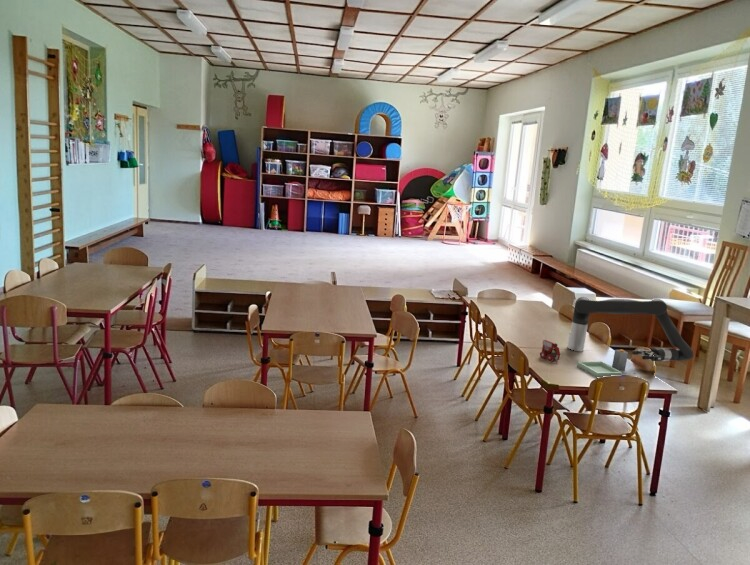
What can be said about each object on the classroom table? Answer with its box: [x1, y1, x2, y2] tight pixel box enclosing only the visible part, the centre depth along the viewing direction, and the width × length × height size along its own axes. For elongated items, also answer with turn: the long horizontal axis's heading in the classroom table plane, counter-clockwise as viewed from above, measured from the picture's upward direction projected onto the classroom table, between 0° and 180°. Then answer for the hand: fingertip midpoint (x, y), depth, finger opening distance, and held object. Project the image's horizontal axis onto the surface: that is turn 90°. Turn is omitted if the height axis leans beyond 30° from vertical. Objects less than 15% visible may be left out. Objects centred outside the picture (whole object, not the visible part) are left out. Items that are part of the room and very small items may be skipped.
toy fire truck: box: [539, 339, 561, 362], centre depth 353 cm, size 7×12×10 cm, turn 35°
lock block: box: [611, 349, 629, 372], centre depth 346 cm, size 5×5×12 cm
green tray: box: [576, 361, 623, 379], centre depth 339 cm, size 18×16×3 cm
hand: (637, 355), depth 349 cm, fingers open, 8 cm apart
